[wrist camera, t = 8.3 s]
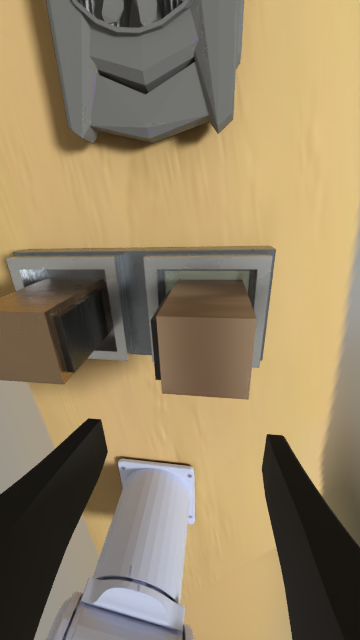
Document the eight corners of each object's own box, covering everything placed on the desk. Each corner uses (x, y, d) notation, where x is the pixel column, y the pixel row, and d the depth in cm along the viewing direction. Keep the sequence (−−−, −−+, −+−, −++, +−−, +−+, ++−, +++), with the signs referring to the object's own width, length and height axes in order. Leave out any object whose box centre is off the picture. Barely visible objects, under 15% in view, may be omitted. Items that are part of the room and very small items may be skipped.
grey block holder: (258, 349, 19) (282, 429, 12) (53, 340, 21) (-25, 402, 14) (270, 245, 16) (312, 273, 9) (28, 249, 18) (-87, 272, 11)
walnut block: (242, 279, 15) (256, 318, 10) (238, 337, 17) (248, 399, 11) (171, 279, 16) (146, 316, 10) (174, 335, 17) (153, 392, 12)
